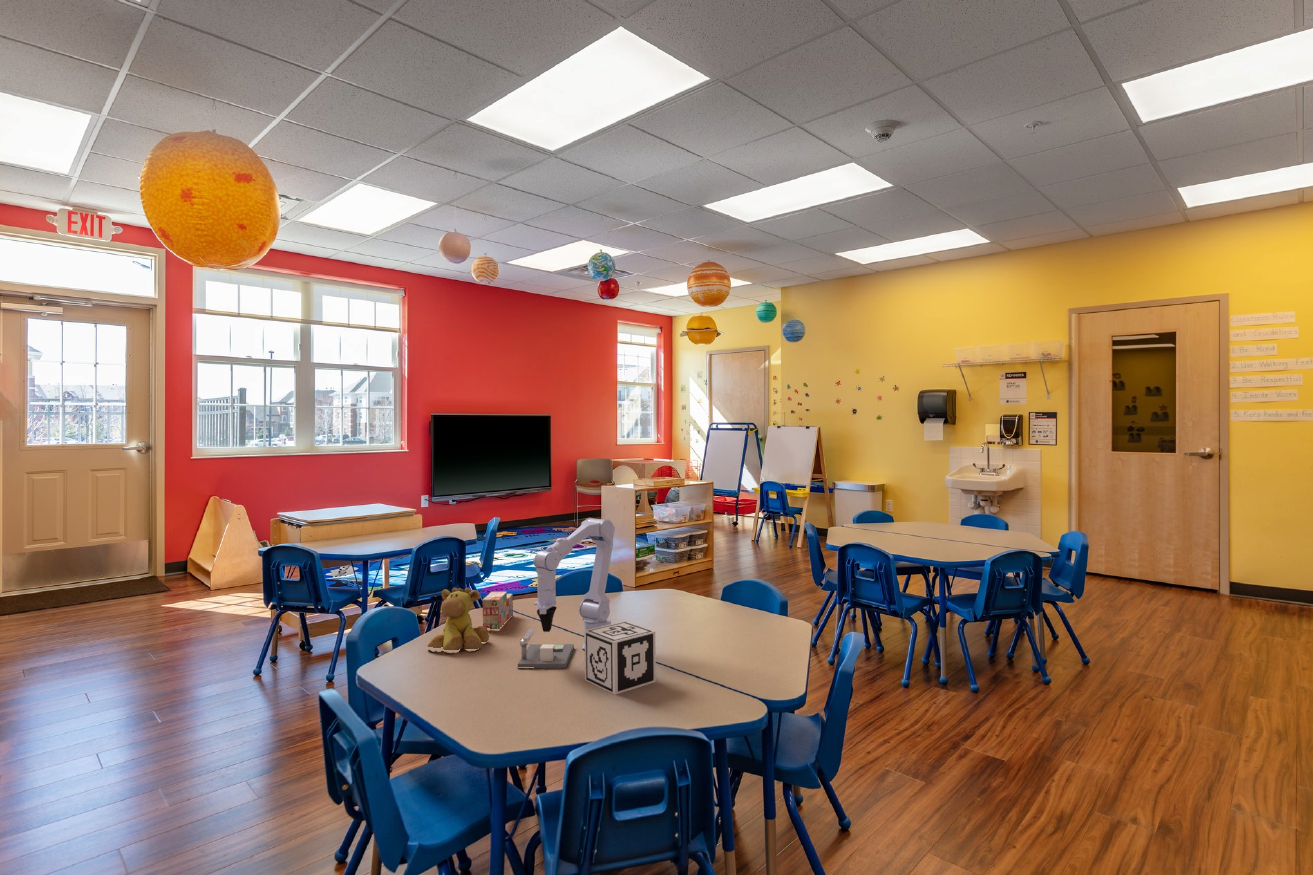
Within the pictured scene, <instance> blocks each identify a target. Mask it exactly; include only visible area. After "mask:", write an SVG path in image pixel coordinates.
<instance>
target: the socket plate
mask: <svg viewBox="0 0 1313 875" xmlns="http://www.w3.org/2000/svg"><path fill="white" fill-rule="evenodd" d="M542 644H543V643H542ZM542 644H541V643H535V644H534V643H532V644H531V643H530V644H529V646H528V645H526V646H521V645H520V647H521V658H520V659H519V661H518V663H517V668H518V667H534V668H546V669H548V670H550V669H556V670H557V669H559V670H561V669H566V668H567V666H568V663H569V661H570V658H571V656H572V654H573V652H574V648H575V644H574V643H554V644H555V649H563V652H555V660H554V661H540V647H541V646H542ZM527 646H528V647H527Z"/></svg>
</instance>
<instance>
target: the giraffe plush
mask: <svg viewBox="0 0 1313 875" xmlns="http://www.w3.org/2000/svg"><path fill="white" fill-rule="evenodd" d="M441 598H442V603H441V605H440V606H441V607H440V612H441V615H442V616H444V617H446V620H445V625H444V627H443V628H442V630H443V632H442V633H440V634H436V635H435V636H434V637H433V638H432V639H431V640H429V642H428V644H427V647H433V648H441V647H443V649H444V650H459V649H461V650H462V649H463V650H465V649H478V648H480V647H481V648H482V646H483V645H482V643H481V642H487V641H489V640H490V639H489V638H490V634H489V631H488V630H487V628H485V627H483V625H482V626H481V625H480V626H477V627H473V623H472V622H473V621H472V618H471V615H470V611H471V609H472V607H473V605H474V602H475V601H478V600H480V599H481V593H480V592H479V591H477V590H476V589H473V590H471V588H469V587H466V588H465V589H462V588H457V587H453V588H452V589H451V591H449V590H448V589H447V588H446V589H443V590H442V591H441ZM487 643H488V642H487ZM481 648H480V649H481Z"/></svg>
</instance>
